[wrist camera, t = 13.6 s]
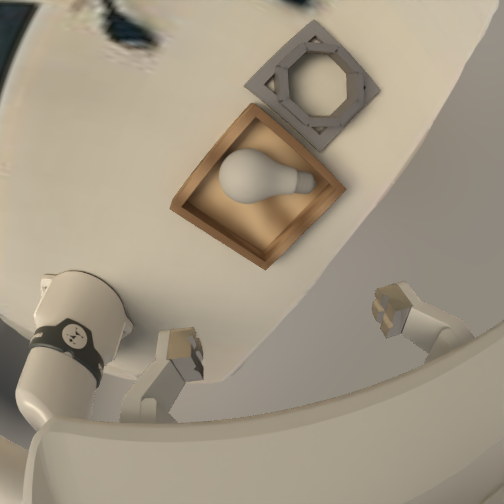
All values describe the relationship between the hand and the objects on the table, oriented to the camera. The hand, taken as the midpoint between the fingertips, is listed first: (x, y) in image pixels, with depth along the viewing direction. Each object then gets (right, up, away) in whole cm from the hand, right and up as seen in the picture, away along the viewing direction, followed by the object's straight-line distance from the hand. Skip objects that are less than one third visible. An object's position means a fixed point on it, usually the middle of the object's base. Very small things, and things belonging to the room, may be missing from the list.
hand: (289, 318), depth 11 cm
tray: (-1, +11, +22) cm, 25 cm away
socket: (+6, +22, +15) cm, 28 cm away
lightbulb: (+6, +11, +19) cm, 23 cm away
